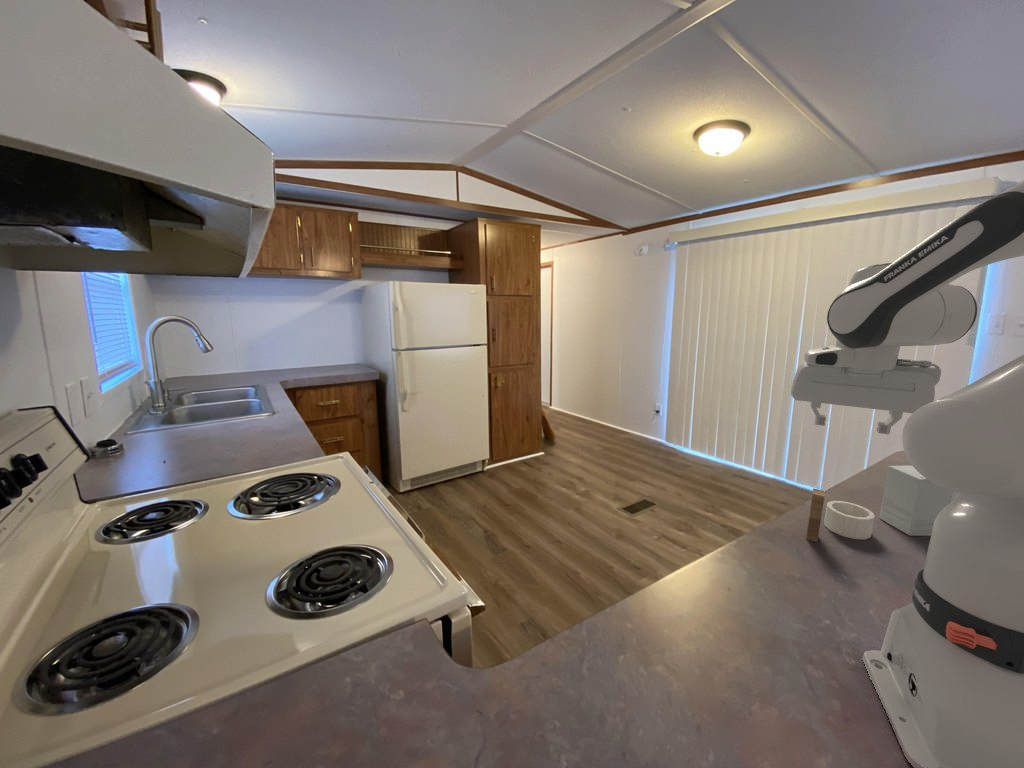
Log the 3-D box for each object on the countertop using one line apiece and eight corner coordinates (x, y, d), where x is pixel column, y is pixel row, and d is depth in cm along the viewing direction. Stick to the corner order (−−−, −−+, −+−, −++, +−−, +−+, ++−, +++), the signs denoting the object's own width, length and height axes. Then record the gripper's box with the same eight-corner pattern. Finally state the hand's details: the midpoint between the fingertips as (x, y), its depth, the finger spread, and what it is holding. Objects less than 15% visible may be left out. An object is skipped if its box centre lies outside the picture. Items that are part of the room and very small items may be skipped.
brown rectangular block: (817, 542, 82) (824, 496, 80) (806, 539, 83) (813, 494, 81) (817, 535, 84) (824, 490, 82) (806, 532, 85) (813, 488, 83)
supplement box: (945, 536, 83) (958, 479, 81) (908, 536, 83) (920, 479, 81) (911, 517, 90) (922, 464, 88) (877, 517, 91) (887, 464, 88)
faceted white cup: (872, 543, 81) (876, 523, 80) (824, 531, 85) (827, 511, 84) (868, 526, 87) (871, 507, 86) (823, 516, 91) (826, 497, 90)
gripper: (937, 359, 71) (919, 433, 74) (796, 350, 81) (785, 416, 85) (951, 364, 66) (931, 444, 69) (798, 354, 76) (787, 424, 79)
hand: (850, 428), depth 77 cm, fingers open, 8 cm apart
